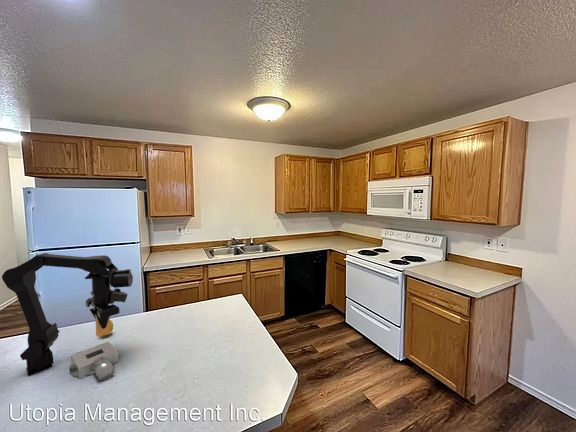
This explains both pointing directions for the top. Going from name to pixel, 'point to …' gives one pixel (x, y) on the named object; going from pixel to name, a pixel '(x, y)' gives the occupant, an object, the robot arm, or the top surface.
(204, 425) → the top surface
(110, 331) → the lemon
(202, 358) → the top surface
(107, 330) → the orange block
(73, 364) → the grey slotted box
